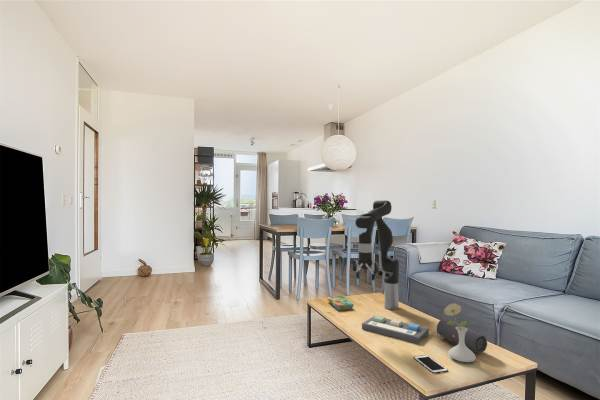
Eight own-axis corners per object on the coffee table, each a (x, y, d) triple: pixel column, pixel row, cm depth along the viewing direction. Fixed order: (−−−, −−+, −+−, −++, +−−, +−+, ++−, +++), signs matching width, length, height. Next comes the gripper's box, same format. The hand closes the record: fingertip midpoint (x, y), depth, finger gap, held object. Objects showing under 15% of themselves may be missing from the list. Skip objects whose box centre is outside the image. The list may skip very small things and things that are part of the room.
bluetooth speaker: (435, 339, 169) (435, 319, 170) (448, 336, 173) (448, 317, 173) (474, 357, 149) (473, 336, 149) (488, 354, 152) (487, 332, 152)
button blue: (410, 329, 179) (410, 322, 179) (420, 331, 175) (420, 325, 176) (407, 332, 175) (407, 325, 175) (416, 334, 172) (416, 327, 172)
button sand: (393, 325, 185) (393, 318, 185) (402, 327, 182) (402, 320, 182) (389, 327, 181) (389, 321, 181) (398, 329, 178) (398, 323, 178)
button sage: (377, 321, 191) (377, 315, 191) (385, 323, 188) (385, 317, 188) (373, 323, 187) (373, 317, 187) (381, 325, 184) (381, 319, 184)
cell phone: (427, 356, 151) (427, 354, 151) (449, 372, 136) (449, 370, 136) (412, 358, 149) (412, 356, 149) (433, 375, 135) (433, 372, 135)
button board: (374, 320, 196) (374, 314, 196) (428, 333, 176) (428, 327, 176) (361, 328, 184) (361, 322, 184) (418, 343, 164) (418, 336, 164)
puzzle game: (337, 304, 214) (327, 296, 234) (337, 311, 214) (327, 302, 234) (353, 302, 217) (342, 294, 237) (353, 309, 217) (342, 301, 237)
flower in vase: (473, 355, 151) (473, 301, 151) (478, 366, 140) (477, 308, 141) (443, 351, 155) (442, 298, 156) (445, 362, 145) (445, 306, 145)
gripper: (379, 251, 185) (379, 279, 184) (355, 249, 192) (356, 276, 192) (375, 252, 178) (375, 282, 178) (351, 251, 185) (351, 279, 185)
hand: (365, 279), depth 185 cm, fingers open, 8 cm apart
